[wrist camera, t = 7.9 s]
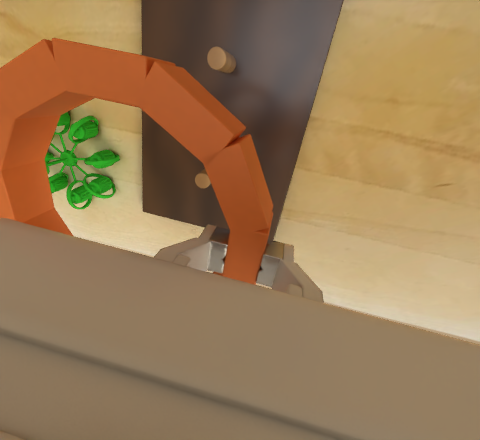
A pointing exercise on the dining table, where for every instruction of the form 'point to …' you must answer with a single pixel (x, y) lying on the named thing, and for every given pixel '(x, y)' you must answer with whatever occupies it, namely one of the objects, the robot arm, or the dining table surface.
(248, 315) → the robot arm
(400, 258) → the dining table surface
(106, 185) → the chandelier
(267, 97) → the ring toss board
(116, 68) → the ring
